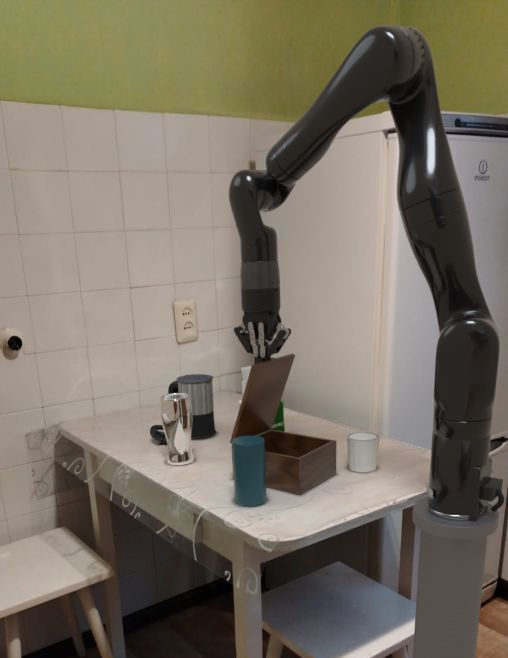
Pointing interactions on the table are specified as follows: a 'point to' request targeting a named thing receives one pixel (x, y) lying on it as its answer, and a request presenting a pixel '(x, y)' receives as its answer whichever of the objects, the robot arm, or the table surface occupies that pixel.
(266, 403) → the bin lid
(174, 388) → the milk frother
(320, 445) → the bin
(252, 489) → the can
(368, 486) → the table surface
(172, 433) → the beer glass
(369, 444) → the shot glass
